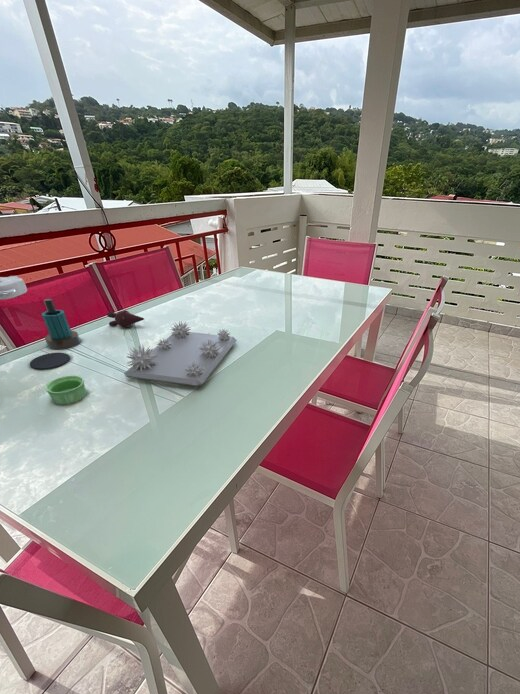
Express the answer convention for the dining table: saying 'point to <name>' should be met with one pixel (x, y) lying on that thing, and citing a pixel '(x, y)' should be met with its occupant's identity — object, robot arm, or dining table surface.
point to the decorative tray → (181, 357)
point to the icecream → (123, 318)
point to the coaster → (50, 361)
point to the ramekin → (66, 389)
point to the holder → (59, 343)
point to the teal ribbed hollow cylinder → (57, 325)
